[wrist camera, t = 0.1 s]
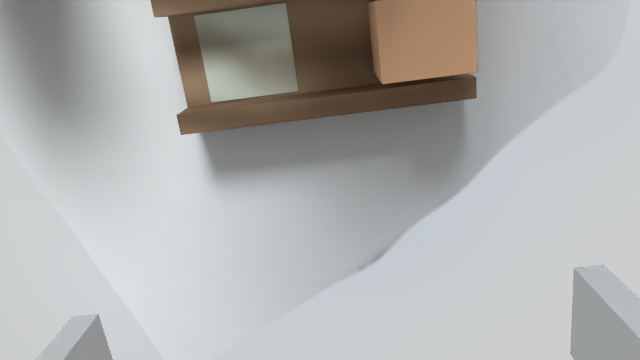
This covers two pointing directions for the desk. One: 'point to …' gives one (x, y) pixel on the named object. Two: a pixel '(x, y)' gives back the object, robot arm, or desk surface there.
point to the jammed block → (422, 38)
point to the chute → (285, 63)
